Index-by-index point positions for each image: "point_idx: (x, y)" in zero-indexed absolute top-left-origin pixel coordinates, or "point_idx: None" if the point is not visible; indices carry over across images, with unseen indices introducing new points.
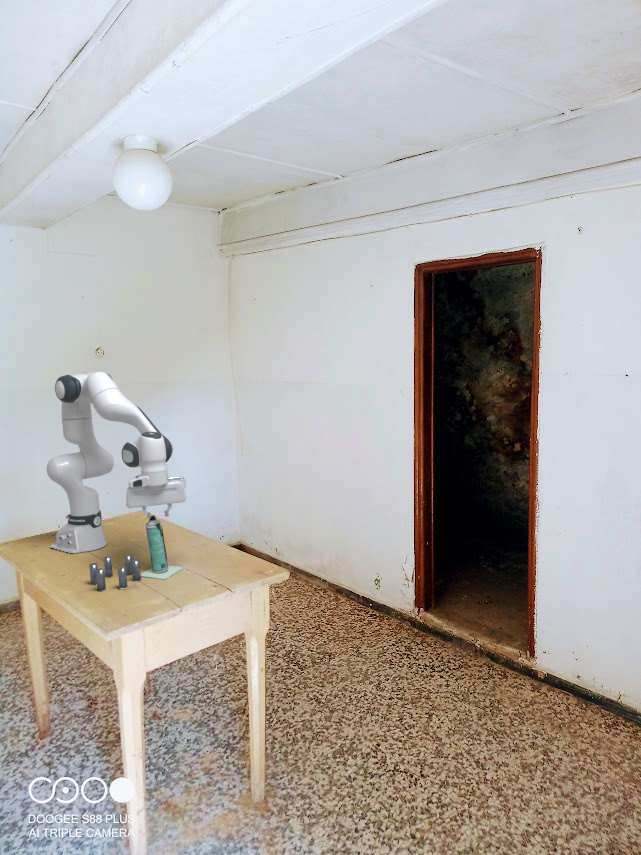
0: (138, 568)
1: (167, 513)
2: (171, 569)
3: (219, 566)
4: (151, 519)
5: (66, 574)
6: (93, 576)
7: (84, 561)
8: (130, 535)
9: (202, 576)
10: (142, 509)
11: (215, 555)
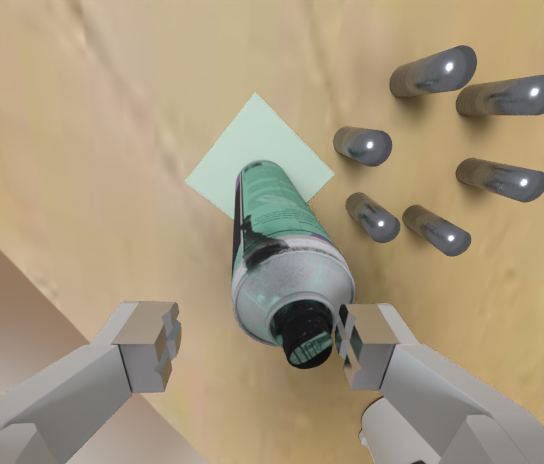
0: (355, 132)
1: (129, 323)
2: (226, 182)
3: (51, 147)
4: (318, 316)
5: (503, 275)
6: (499, 163)
7: (435, 340)
8: (304, 441)
9: (110, 63)
10: (532, 418)
11: (81, 256)
